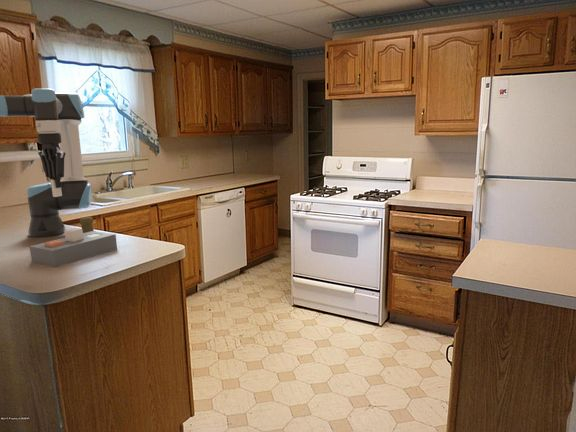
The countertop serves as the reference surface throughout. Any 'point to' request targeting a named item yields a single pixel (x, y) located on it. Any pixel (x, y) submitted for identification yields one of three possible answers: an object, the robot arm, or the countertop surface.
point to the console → (73, 249)
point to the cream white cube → (73, 234)
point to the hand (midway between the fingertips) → (57, 196)
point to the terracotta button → (54, 243)
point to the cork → (86, 224)
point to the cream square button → (92, 235)
